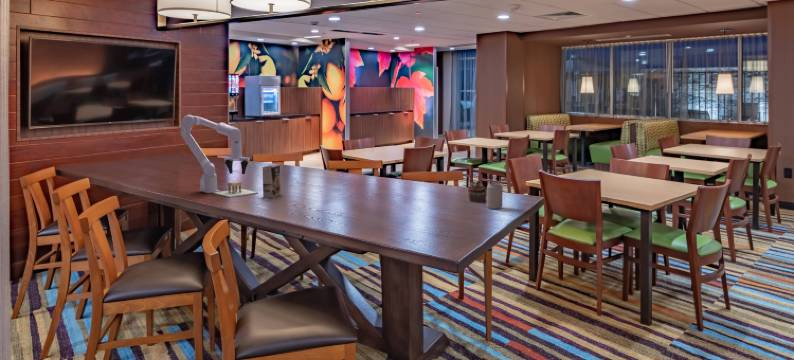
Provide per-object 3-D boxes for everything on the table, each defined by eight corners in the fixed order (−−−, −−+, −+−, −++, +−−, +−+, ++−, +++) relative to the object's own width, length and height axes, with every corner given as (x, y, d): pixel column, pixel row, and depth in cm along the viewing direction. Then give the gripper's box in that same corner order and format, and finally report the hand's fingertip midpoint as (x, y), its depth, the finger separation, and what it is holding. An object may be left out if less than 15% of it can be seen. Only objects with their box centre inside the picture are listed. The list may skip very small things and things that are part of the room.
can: (490, 205, 275) (491, 181, 273) (504, 207, 270) (505, 183, 268) (483, 208, 268) (484, 183, 267) (498, 210, 264) (498, 185, 262)
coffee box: (274, 197, 294) (273, 167, 291) (262, 197, 295) (261, 167, 292) (281, 194, 302) (280, 165, 300) (270, 194, 304) (269, 164, 301)
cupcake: (475, 203, 280) (475, 183, 279) (464, 200, 289) (464, 181, 287) (490, 201, 285) (491, 182, 283) (479, 198, 293) (480, 179, 292)
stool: (227, 192, 305) (227, 182, 304) (236, 191, 309) (236, 181, 308) (233, 193, 301) (232, 183, 301) (242, 192, 305) (241, 182, 304)
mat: (213, 193, 305) (213, 192, 305) (241, 189, 318) (241, 188, 317) (229, 197, 294) (229, 196, 294) (257, 193, 306) (257, 192, 306)
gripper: (220, 150, 310) (221, 174, 312) (244, 150, 307) (245, 175, 309) (227, 148, 317) (228, 172, 319) (250, 149, 314) (251, 173, 316)
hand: (237, 173), depth 315 cm, fingers open, 7 cm apart
